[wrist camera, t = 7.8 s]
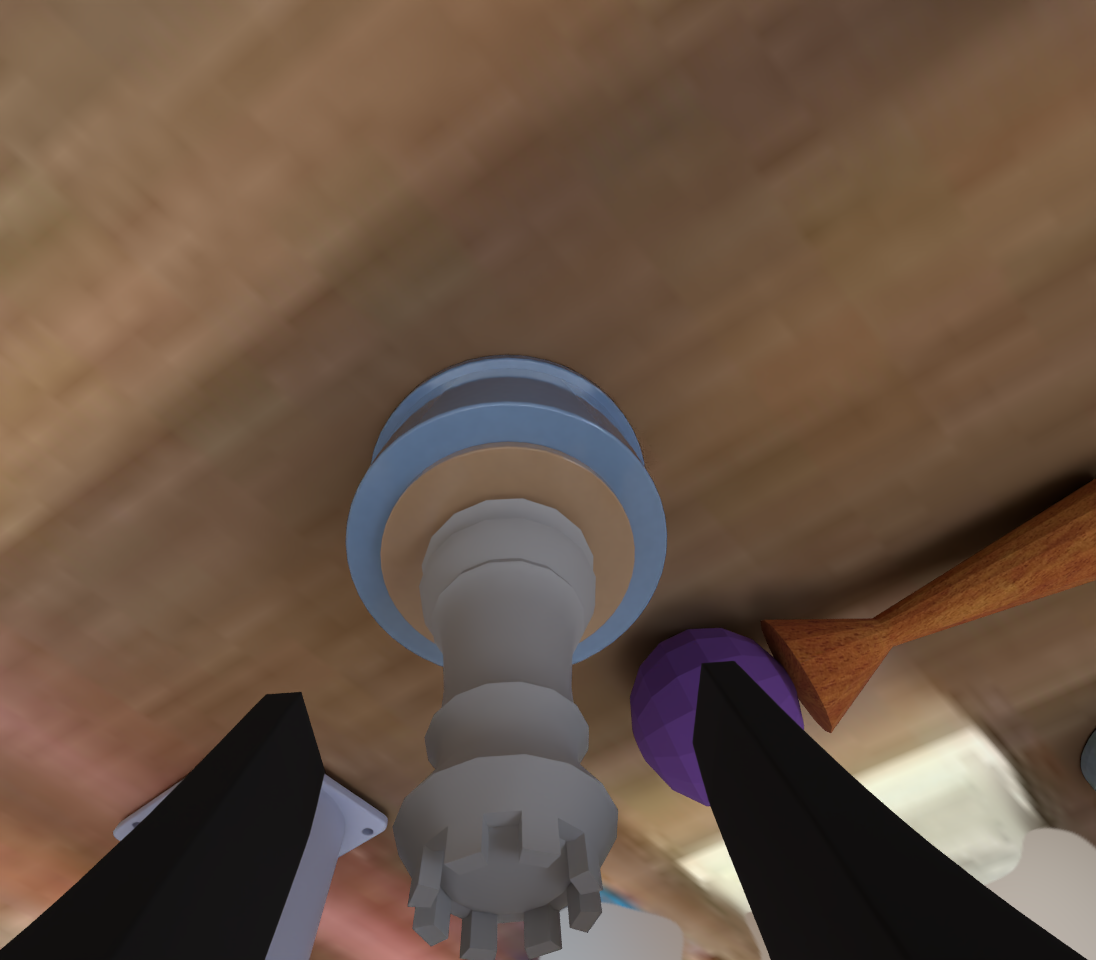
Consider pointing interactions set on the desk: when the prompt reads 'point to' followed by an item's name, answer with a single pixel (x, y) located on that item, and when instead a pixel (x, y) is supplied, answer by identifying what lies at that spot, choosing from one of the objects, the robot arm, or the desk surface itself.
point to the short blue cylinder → (505, 487)
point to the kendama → (854, 637)
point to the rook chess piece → (506, 736)
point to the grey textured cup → (1089, 761)
